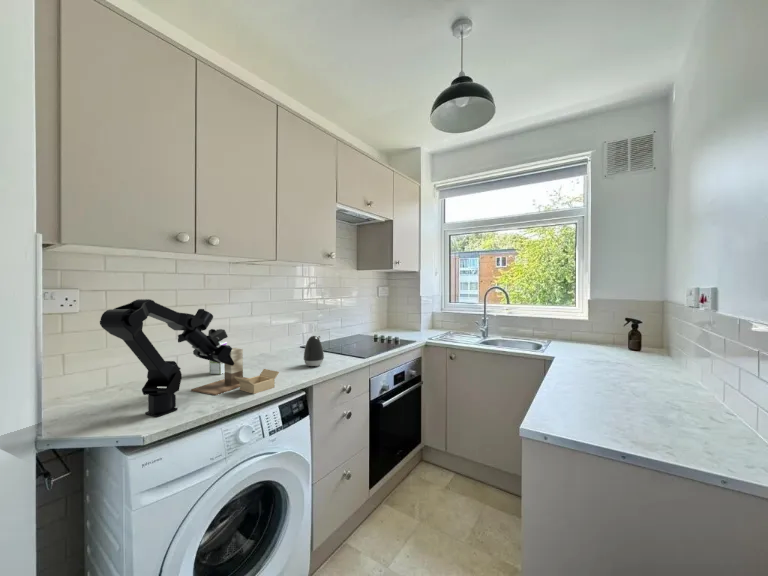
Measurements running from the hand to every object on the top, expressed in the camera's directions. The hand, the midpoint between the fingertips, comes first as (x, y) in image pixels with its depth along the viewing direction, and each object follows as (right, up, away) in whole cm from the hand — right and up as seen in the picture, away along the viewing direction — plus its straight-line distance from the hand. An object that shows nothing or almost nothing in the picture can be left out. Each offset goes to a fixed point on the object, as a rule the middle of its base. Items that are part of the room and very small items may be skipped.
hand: (226, 363), depth 128 cm
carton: (+13, -9, -3) cm, 17 cm away
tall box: (+2, -9, +3) cm, 9 cm away
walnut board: (-1, -9, +2) cm, 10 cm away
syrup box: (-14, -10, +21) cm, 27 cm away
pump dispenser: (+28, -9, +34) cm, 45 cm away
